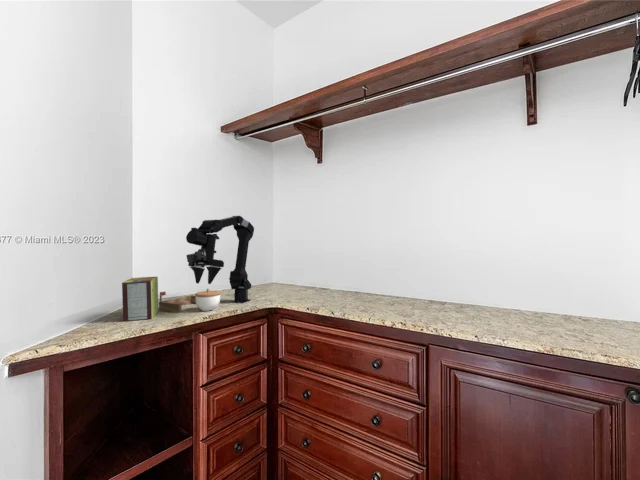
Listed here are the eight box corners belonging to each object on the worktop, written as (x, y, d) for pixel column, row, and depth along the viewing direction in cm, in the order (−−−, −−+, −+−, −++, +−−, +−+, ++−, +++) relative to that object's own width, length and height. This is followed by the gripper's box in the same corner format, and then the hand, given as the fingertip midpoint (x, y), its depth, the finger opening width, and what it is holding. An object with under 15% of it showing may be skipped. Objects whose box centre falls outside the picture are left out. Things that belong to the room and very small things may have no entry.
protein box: (158, 311, 144) (158, 276, 144) (152, 319, 129) (151, 280, 129) (132, 313, 141) (131, 277, 141) (122, 321, 126) (121, 282, 126)
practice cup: (191, 302, 163) (191, 286, 163) (211, 304, 157) (211, 287, 157) (158, 309, 147) (158, 292, 146) (179, 312, 141) (178, 294, 140)
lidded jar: (190, 312, 141) (190, 290, 141) (203, 307, 152) (203, 286, 151) (213, 312, 139) (212, 290, 139) (225, 307, 150) (224, 287, 150)
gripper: (179, 245, 142) (174, 281, 139) (203, 243, 131) (198, 282, 128) (202, 249, 151) (197, 283, 148) (226, 247, 139) (222, 284, 136)
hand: (203, 283), depth 140 cm, fingers open, 9 cm apart
